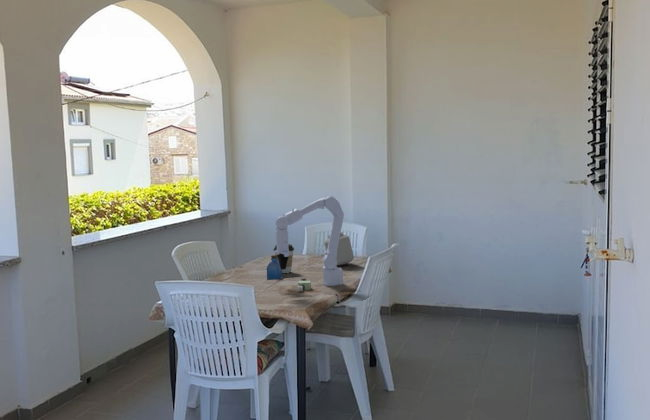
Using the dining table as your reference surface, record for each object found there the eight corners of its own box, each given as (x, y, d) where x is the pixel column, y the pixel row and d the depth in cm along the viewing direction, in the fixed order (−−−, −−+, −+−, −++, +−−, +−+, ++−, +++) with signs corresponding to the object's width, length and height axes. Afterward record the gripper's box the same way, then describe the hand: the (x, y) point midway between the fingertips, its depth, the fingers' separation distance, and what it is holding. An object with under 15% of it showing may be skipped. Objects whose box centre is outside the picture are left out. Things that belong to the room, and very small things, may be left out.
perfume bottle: (271, 277, 321) (270, 254, 320) (282, 277, 319) (281, 255, 318) (267, 279, 315) (266, 256, 314) (278, 280, 313) (277, 257, 312)
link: (300, 284, 295) (300, 280, 295) (307, 284, 295) (307, 280, 295) (296, 291, 281) (296, 287, 280) (303, 291, 280) (303, 287, 280)
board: (309, 286, 298) (309, 276, 297) (321, 293, 282) (321, 283, 281) (272, 289, 291) (272, 280, 291) (281, 297, 275) (281, 287, 275)
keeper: (299, 287, 289) (299, 280, 289) (311, 287, 288) (310, 280, 288) (298, 290, 285) (297, 282, 284) (309, 290, 284) (309, 282, 284)
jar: (319, 267, 345) (318, 223, 342) (323, 262, 359) (322, 220, 357) (352, 267, 342) (352, 223, 339) (355, 262, 356) (354, 220, 354)
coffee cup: (277, 270, 339) (276, 243, 338) (297, 270, 337) (296, 243, 335) (271, 274, 328) (270, 246, 327) (291, 274, 326) (291, 247, 324)
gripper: (270, 239, 297) (271, 267, 299) (278, 244, 284) (279, 272, 285) (284, 238, 300) (285, 266, 301) (292, 243, 286) (293, 271, 287)
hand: (283, 269), depth 293 cm, fingers closed
